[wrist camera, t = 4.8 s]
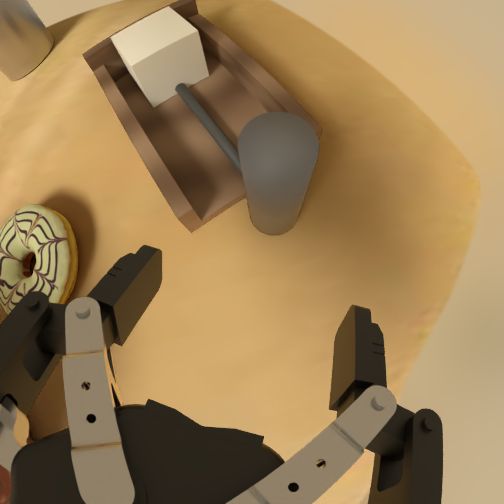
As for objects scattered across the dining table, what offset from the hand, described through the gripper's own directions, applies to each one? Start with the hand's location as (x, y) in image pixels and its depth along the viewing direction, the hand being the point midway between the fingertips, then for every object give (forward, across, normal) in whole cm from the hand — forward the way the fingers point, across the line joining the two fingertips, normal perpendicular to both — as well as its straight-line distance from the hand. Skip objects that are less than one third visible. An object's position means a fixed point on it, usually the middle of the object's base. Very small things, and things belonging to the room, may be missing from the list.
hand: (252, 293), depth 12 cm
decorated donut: (+5, -20, -10) cm, 23 cm away
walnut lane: (+18, -10, +3) cm, 21 cm away
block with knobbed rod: (+16, -8, +2) cm, 18 cm away
